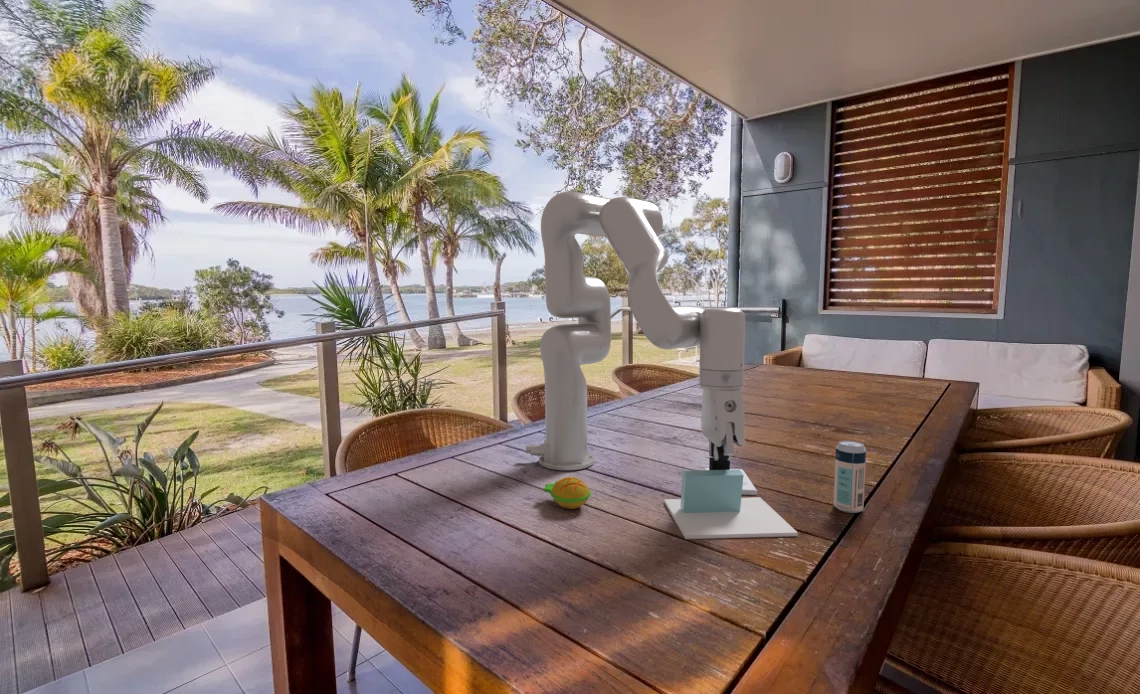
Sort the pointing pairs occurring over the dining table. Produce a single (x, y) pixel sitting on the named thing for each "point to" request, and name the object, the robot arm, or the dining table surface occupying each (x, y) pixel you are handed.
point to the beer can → (849, 476)
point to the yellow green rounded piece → (569, 492)
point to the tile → (711, 491)
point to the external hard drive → (745, 484)
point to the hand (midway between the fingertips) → (719, 480)
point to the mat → (731, 521)
